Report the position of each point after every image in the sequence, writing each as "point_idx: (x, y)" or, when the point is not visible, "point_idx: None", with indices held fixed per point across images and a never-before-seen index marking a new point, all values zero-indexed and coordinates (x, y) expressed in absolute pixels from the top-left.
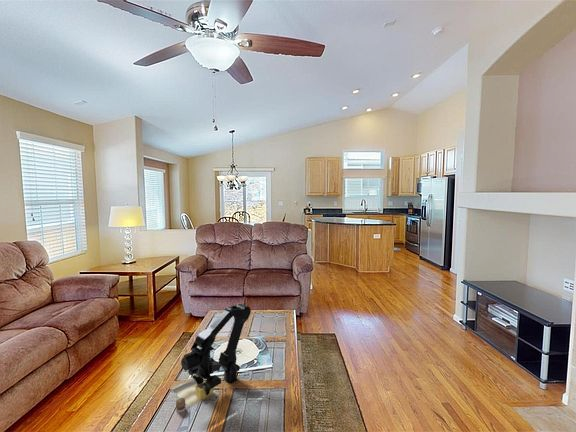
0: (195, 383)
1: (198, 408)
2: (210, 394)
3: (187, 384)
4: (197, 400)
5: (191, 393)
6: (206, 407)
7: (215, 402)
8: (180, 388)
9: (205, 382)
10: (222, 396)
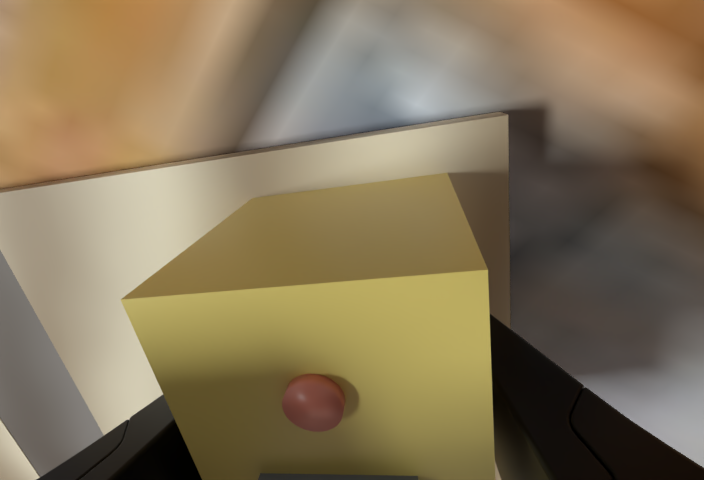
0: (21, 309)
1: None
2: None
3: (17, 391)
4: None
5: None
6: (652, 383)
7: (677, 229)
8: None
9: (226, 419)
10: (639, 17)
